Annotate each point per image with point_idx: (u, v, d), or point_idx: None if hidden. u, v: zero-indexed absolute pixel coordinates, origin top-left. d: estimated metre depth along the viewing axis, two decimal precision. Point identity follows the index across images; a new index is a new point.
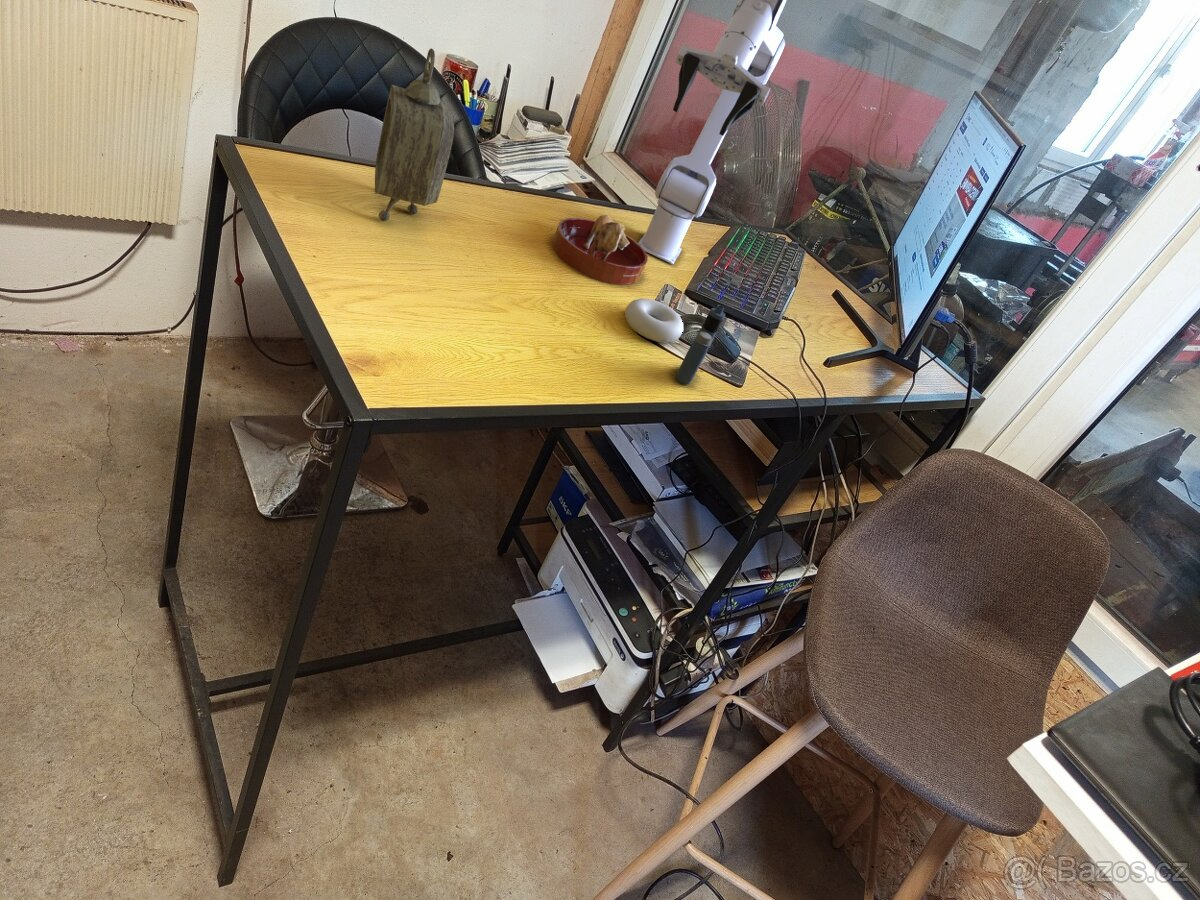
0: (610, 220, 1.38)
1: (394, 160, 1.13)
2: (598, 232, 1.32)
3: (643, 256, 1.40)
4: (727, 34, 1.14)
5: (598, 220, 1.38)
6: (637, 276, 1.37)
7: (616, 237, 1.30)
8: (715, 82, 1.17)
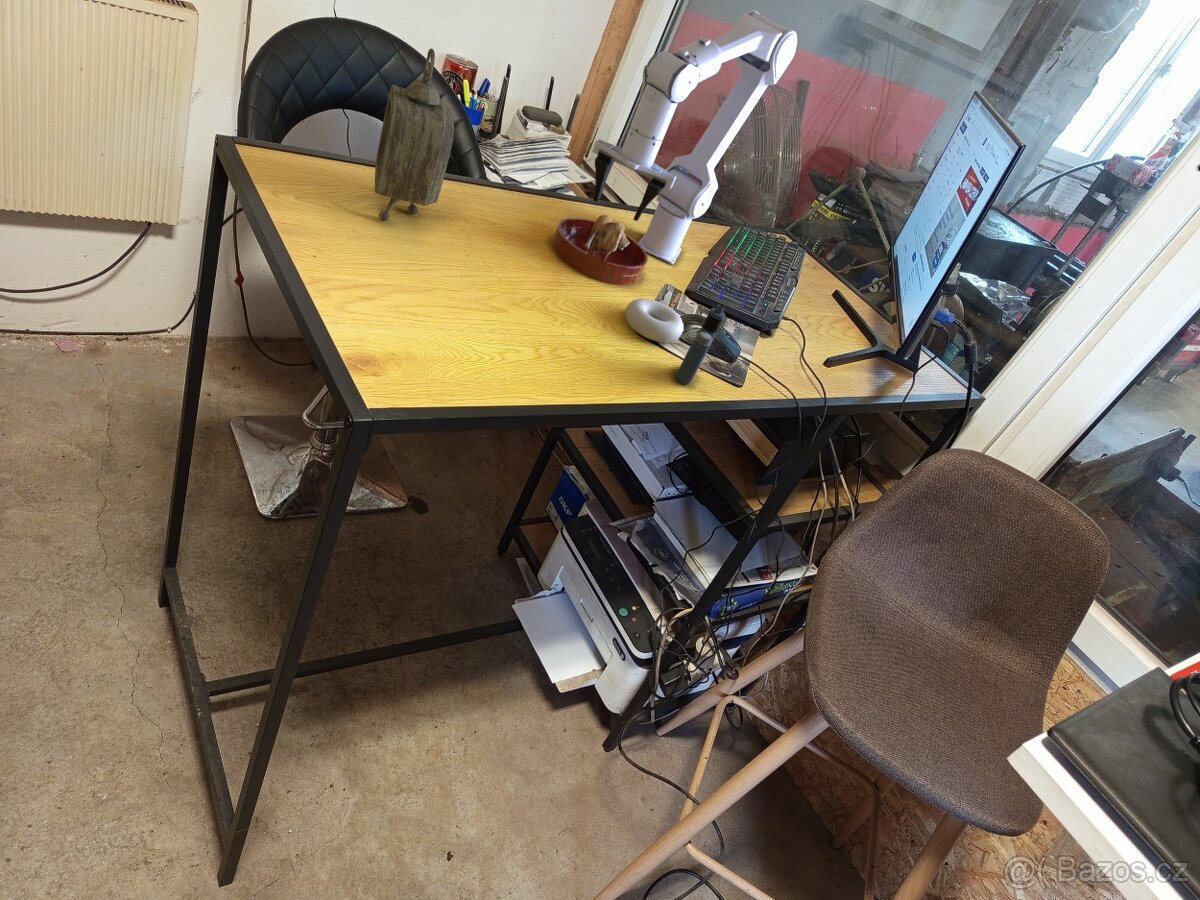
0: (610, 220, 1.38)
1: (394, 160, 1.13)
2: (598, 232, 1.32)
3: (643, 256, 1.40)
4: (632, 131, 1.25)
5: (598, 220, 1.38)
6: (637, 276, 1.37)
7: (616, 237, 1.30)
8: None
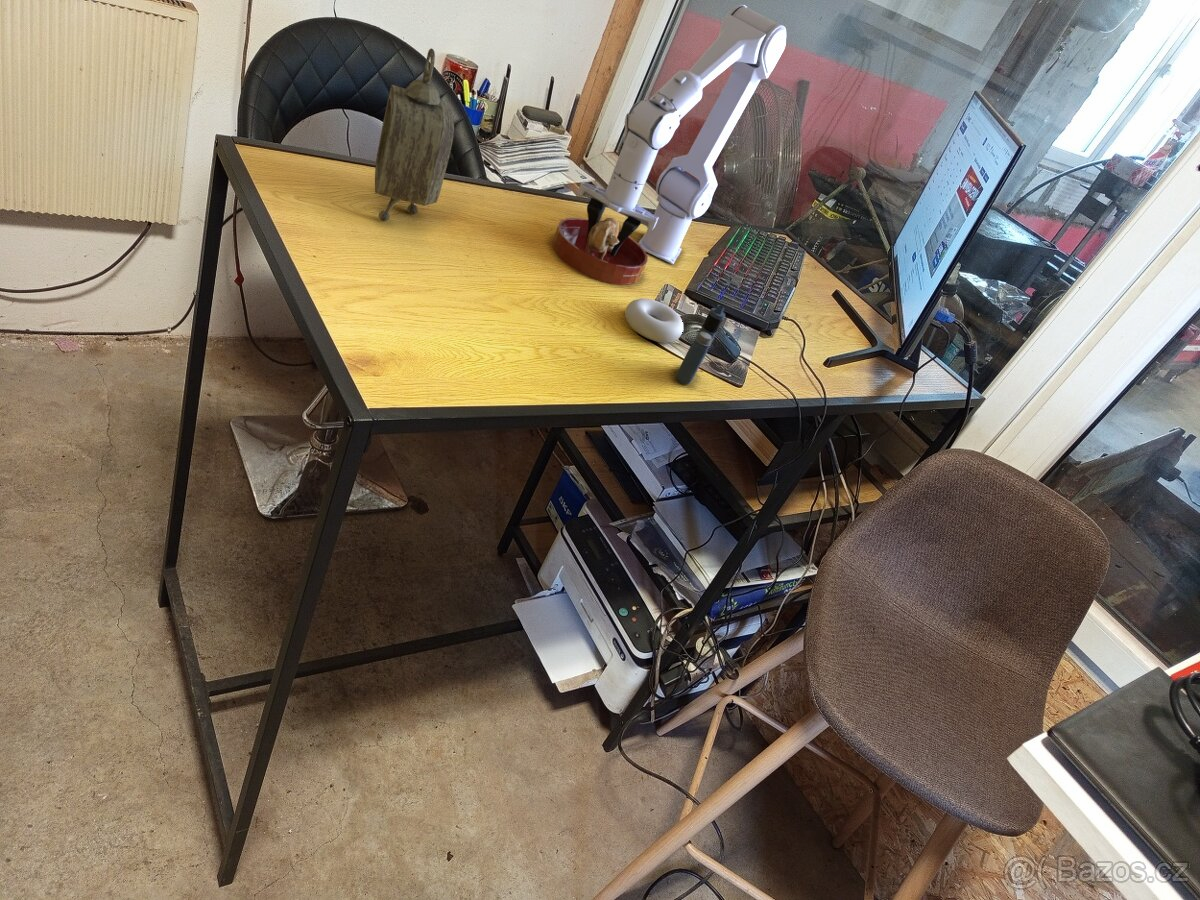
0: (615, 223, 1.37)
1: (394, 160, 1.13)
2: (591, 229, 1.32)
3: (643, 256, 1.40)
4: (615, 175, 1.29)
5: None
6: (637, 276, 1.37)
7: (603, 233, 1.29)
8: None
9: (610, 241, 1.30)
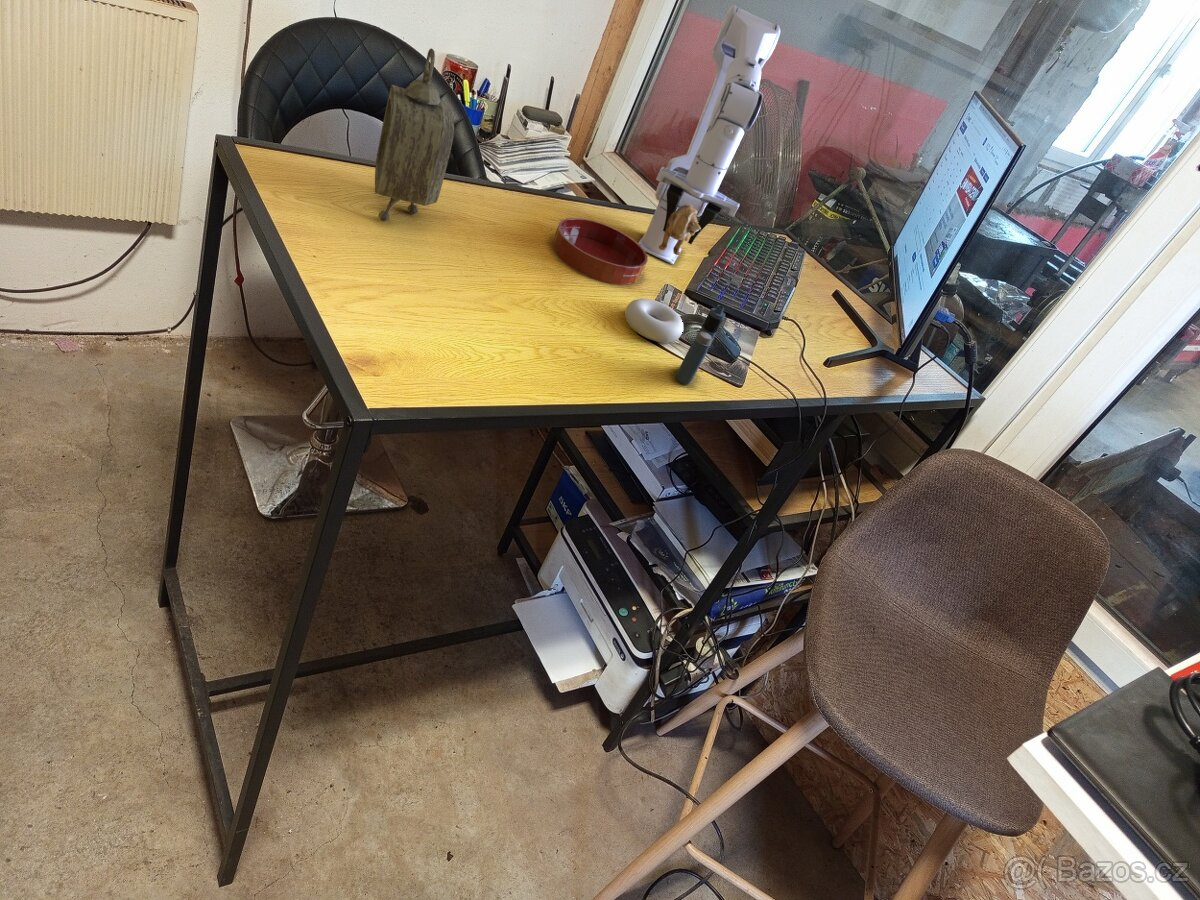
0: None
1: (394, 160, 1.13)
2: (671, 216, 1.28)
3: (643, 256, 1.40)
4: (697, 160, 1.25)
5: None
6: (637, 276, 1.37)
7: (685, 219, 1.25)
8: None
9: (692, 228, 1.26)
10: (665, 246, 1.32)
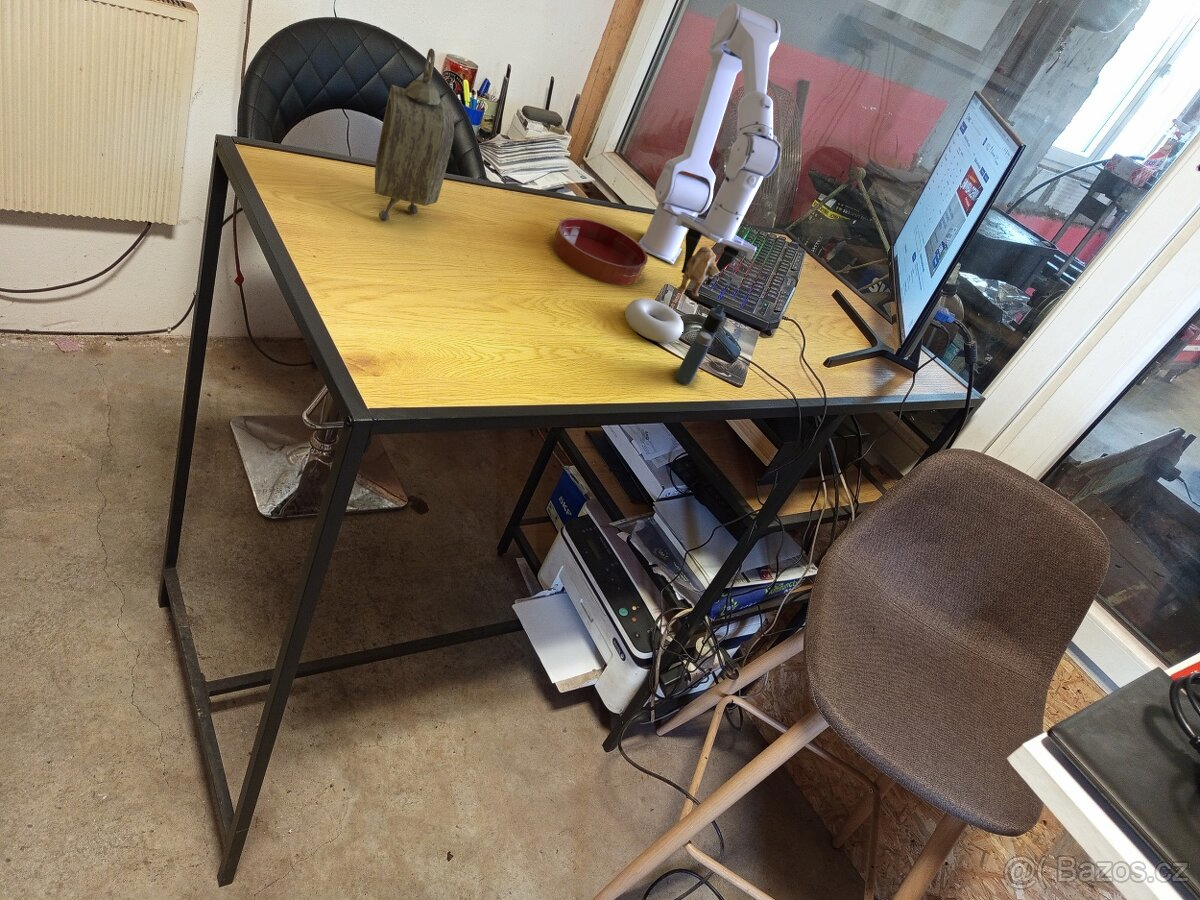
0: (710, 252, 1.37)
1: (393, 160, 1.13)
2: (690, 260, 1.32)
3: (643, 256, 1.40)
4: (716, 206, 1.29)
5: (698, 251, 1.37)
6: (637, 276, 1.37)
7: (705, 264, 1.29)
8: None
9: (711, 272, 1.30)
10: (684, 288, 1.35)
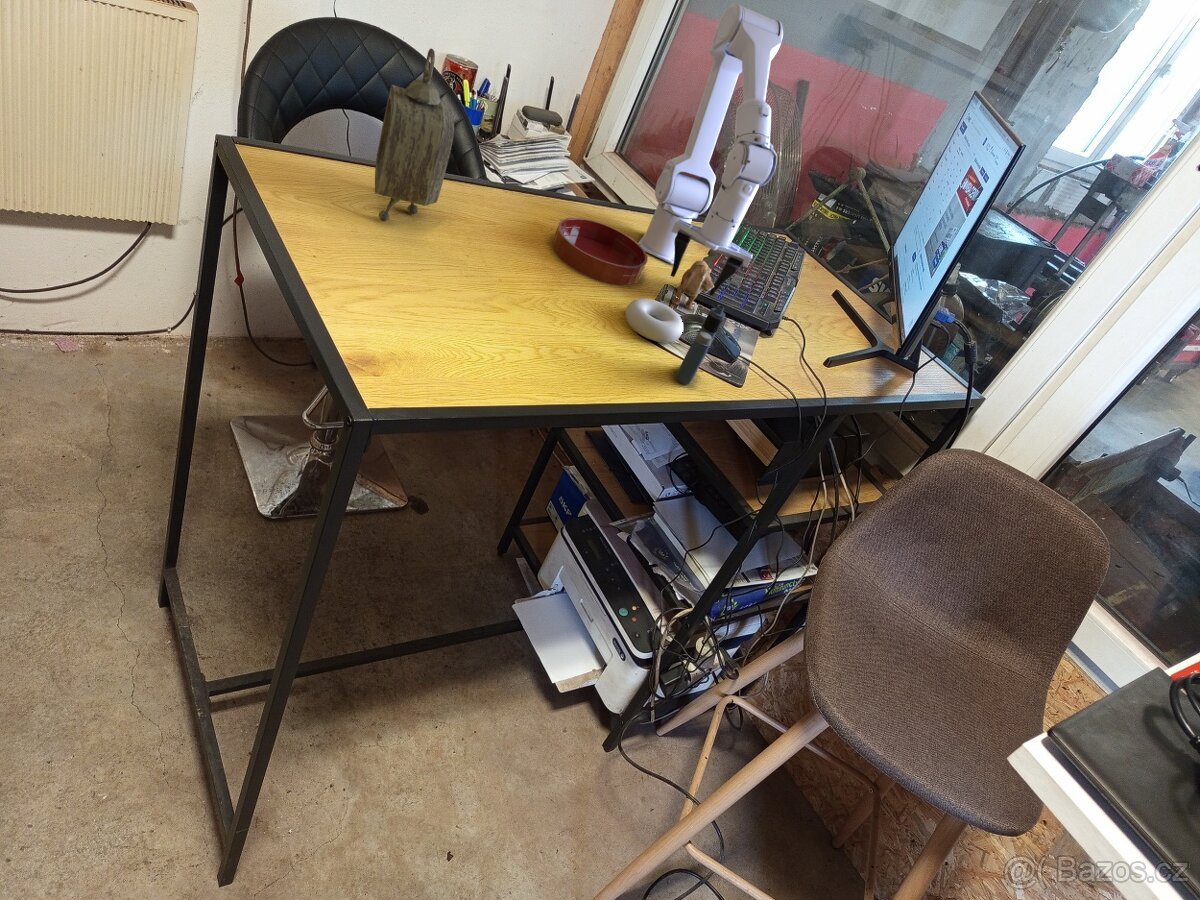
0: (705, 266, 1.38)
1: (394, 160, 1.13)
2: (685, 273, 1.33)
3: (643, 256, 1.40)
4: (712, 214, 1.30)
5: (693, 264, 1.39)
6: (637, 276, 1.37)
7: (700, 278, 1.30)
8: None
9: (705, 286, 1.31)
10: (678, 300, 1.37)
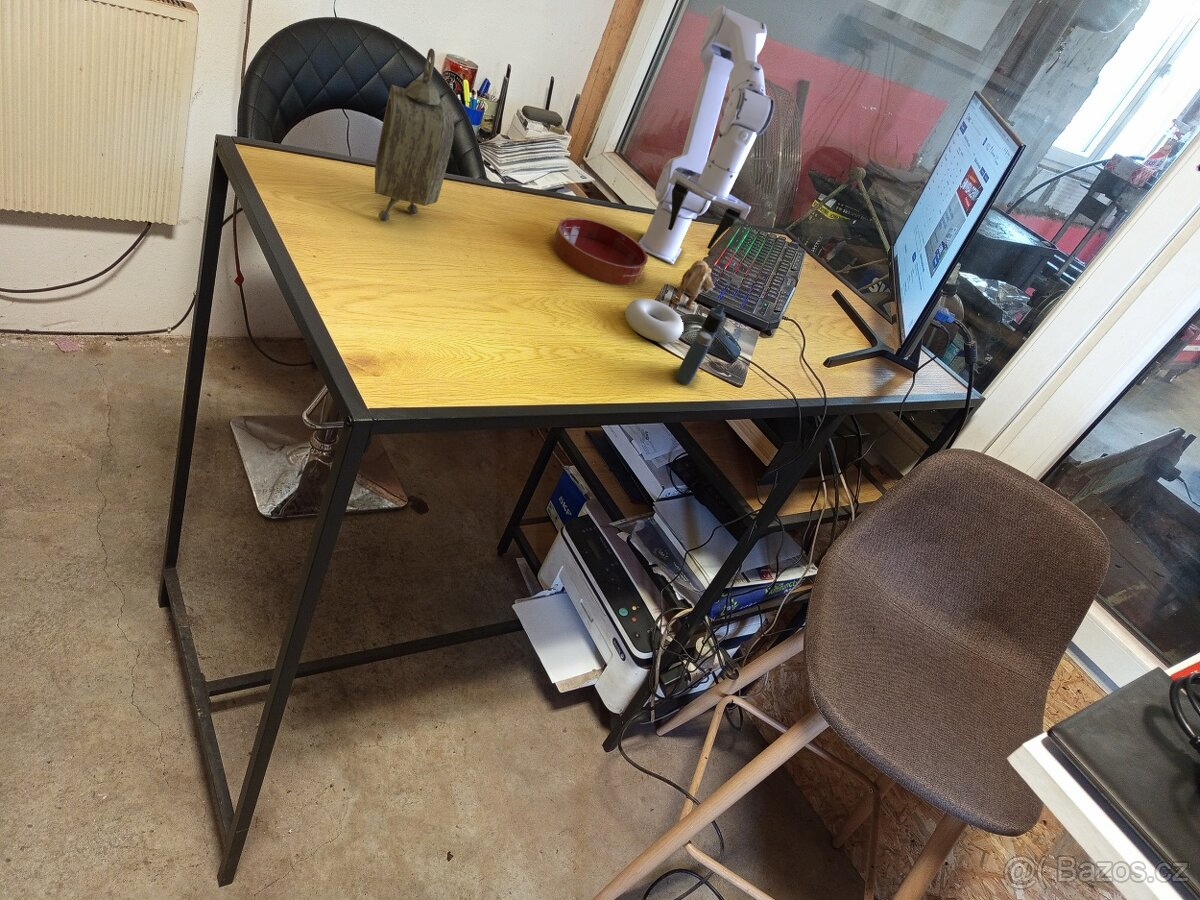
0: (705, 266, 1.38)
1: (394, 160, 1.13)
2: (686, 273, 1.33)
3: (643, 256, 1.40)
4: (710, 163, 1.28)
5: (693, 264, 1.39)
6: (637, 276, 1.37)
7: (700, 278, 1.30)
8: None
9: (706, 286, 1.31)
10: (678, 300, 1.37)
